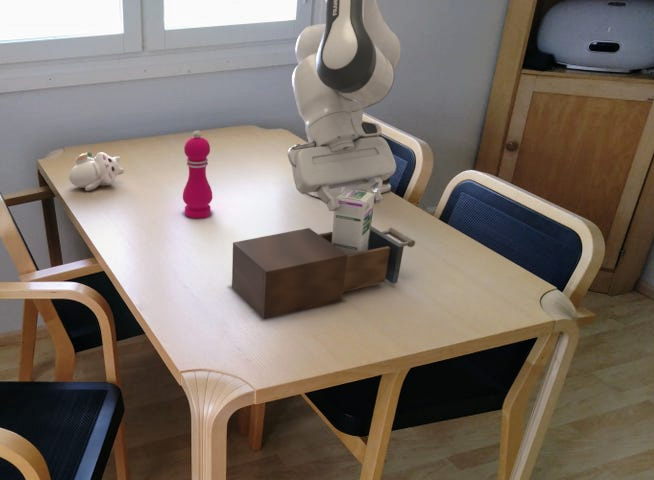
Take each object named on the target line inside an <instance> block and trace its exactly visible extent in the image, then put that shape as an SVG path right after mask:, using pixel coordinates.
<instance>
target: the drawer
mask: <svg viewBox="0 0 654 480" xmlns="http://www.w3.org/2000/svg"><path fill="white" fill-rule="evenodd" d="M332 232H333V231H329V232H323V233H317V234H318V235H320V236H321V237H323V238H324V239H326V240H327V241H328V242H330V243H332ZM388 235H389V236H388ZM390 236H391V237H390ZM392 237H393V238H394V239H393V238H392ZM395 239H396V240H395ZM398 241H399V242H398ZM415 244H416V240H414V239H412V238H410V237H409V236H407V235H405V234H403V233H402V232H400V231H399V230H397V229H395V228H394V227H389V228H388V229H387V230H384V231H380V230H379V229H377V228H375V227H374V226H372V225H371V230H370V238H369V246H368V250H367V251H363V252H358V253H353V254H348V256H347V264H346V272H345V279H344V287H343V293H344V292H348V291H352V290H357V289H361V288H366V287H370V286H375V285H379V284H384V283H386V280H387V281H388V282H389V283H390V284H397V283H398V281H399V276H400V271H401V265H402V260H403V259H402V258H403V253H404V248H405V247H407V246H408V247H409V248H413V247H414V246H415Z"/></svg>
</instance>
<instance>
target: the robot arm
mask: <svg viewBox="0 0 654 480" xmlns="http://www.w3.org/2000/svg"><path fill="white" fill-rule="evenodd" d="M324 2H325V4H326V13H325V23H320V24H319V23H318V24H314V25H309V26H307V27H305V28H304V29H303V30H302V31H301V33H300V34H299V36H298V37H297V40H296V43H295V49H294V50H295V58H296V61H297V65H296V67H295V68H294V70H293V73H292V77H291V83H292V84H291V87H292V92H293V93H292V94H293V96H294V101H295V104H296V107H297V111H298V114H299V116H300V117H301V118H302V120H303V122H304V126H305V134H306V138H307V140H308V142H304V143H295V144H293V145H292V146H291V147H290V148H289V149H288V151H287V158H288V161H289V163H290V165H291V170H292V171H291V172H292V177H293V182H294V185H295V188H296V191H298V192H299V193H300V194H302V195H305V194H307V195H309V196H312V197H316V198H319V199H320V200H321V201H322V202H323V203H324V204H325V205H326V206H327V209H328V212H330V213H331V212H335V211H337V210H338V209H339V208H340V204H339V200H338V198H337V199H336V197H337V196H339V195H340V194H341V193H342V192H343V191H345V190H346V188H355V189H363V190H367V191H372V192H375V198H374V205H376V204H380V203H381V202H382V201H383V196H382V194H383V193H387V192H389V191H392V185H391V183H390V179H391V177H392V176H393V175H394V174H395V173H396V169H397V163H396V160H395V157H394V155H393V152H392V150H391V147H390V145H389V143H388V142H387V140H386V139H385V138H384V137H382V136H380V135H381V134H382V133H383V130H382V128H381V125H380V124H378V123H376V122H371V121H365V120H363V116H364V115H363V114H364V109H367V108H369V107H371V106H374V105H376V104H379V103H380V102H381V101H383V100H384V99H385V98H386V97H387V95H388V94H389V93H390V92H391V90H392V87H393V86H394V81H395V70H396V68H397V66H398V64H399V62H400V59H401V55H402V54H401V52H402V48H401V47H402V46H401V43H400V40H399V38H398V36H397V35H396V34H395V33H394V32H393V31H392V29H391V28H389V26H388V24H387V23H386V22H385V20H384V18H383V16H382V14H381V11H380V9H379V5H378V2H377V0H324Z"/></svg>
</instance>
